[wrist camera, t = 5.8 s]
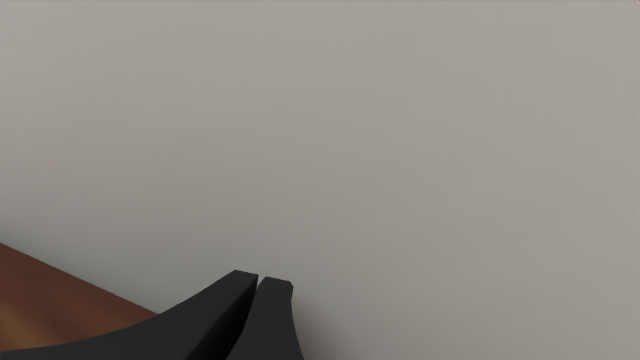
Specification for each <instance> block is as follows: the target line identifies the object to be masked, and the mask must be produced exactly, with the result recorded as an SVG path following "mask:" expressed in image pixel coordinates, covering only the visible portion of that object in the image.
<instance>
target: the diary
mask: <svg viewBox="0 0 640 360" xmlns="http://www.w3.org/2000/svg"><path fill="white" fill-rule="evenodd" d="M156 315H158V314H156V313H154V312H152V311H150V310H147V309H145V308H143V307H141V306H138V305H136V304H134V303H132V302H130V301H127V300H125V299H123V298H121V297H119V296H116V295H114V294H112V293H110V292H107V291H105V290H103V289H101V288H99V287H96V286H94V285H92V284H90V283H88V282H85V281H83V280H81V279H79V278H76V277H74V276H72V275H70V274H68V273H65V272H63V271H61V270H59V269H56V268H54V267H52V266H50V265H48V264H45V263H43V262H41V261H39V260H37V259H34V258H32V257H30V256H28V255H25V254H23V253H21V252H19V251H17V250H14V249H12V248H10V247H8V246H6V245H3V244H1V243H0V352H1V351H6V350H17V349H26V348H36V347H45V346H52V345H58V344H63V343H69V342H74V341H79V340H83V339H88V338H92V337H96V336H99V335H103V334H106V333H109V332H113V331H116V330H119V329H123V328H126V327H129V326H132V325H134V324H137V323H139V322H142V321H144V320H147V319H149V318H152V317H154V316H156Z"/></svg>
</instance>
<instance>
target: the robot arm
mask: <svg viewBox="0 0 640 360" xmlns="http://www.w3.org/2000/svg"><path fill="white" fill-rule="evenodd" d="M257 282H258V275H257V274H252V273H248V272H243V271H238V270H234V271H232V272H230V273H229V274H227V275H226V276H224V277H222V278H221V279H219V280H218V281H216V282H215V283H213V284H212V285H210V286H209V287H207V288H205V289H204V290H202V291H201V292H199V293H197V294H196V295H194V296H192V297H191V298H189V299H187V300H186V301H184V302H182V303H180V304H178V305H176V306H174V307H172V308H170V309H169V310H167V311H165V312H163V313H161V314H158V315H156V316H154V317H152V318H149V319H147V320H144V321H142V322H139V323H137V324H134V325H132V326H129V327H126V328H123V329H119V330H116V331H113V332H109V333H106V334H103V335H99V336H96V337H92V338H88V339H83V340H79V341H74V342H69V343H63V344H58V345H52V346H45V347H36V348H26V349H17V350H6V351H1V352H0V360H304V357H303V355H302V352H301V349H300V346H299V342H298V339H297V336H296V331H295V327H294V322H293V316H292V308H291V299H292V293H293V285H292V284H291V282H290V281H285V280H281V279H276V278H271V277H267V276H266V277H265V278H264V279H263V280H262V281H261V283H260V284H259V286H258V288H257ZM256 289H257V291H256Z"/></svg>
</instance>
